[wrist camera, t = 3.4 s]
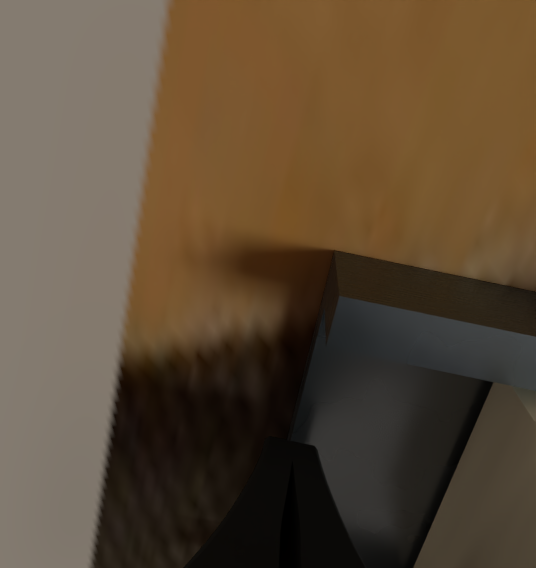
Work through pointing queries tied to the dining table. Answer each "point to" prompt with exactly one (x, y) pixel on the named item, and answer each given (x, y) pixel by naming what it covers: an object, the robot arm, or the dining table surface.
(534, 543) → the block
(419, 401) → the chute
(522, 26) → the dining table surface
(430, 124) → the dining table surface
